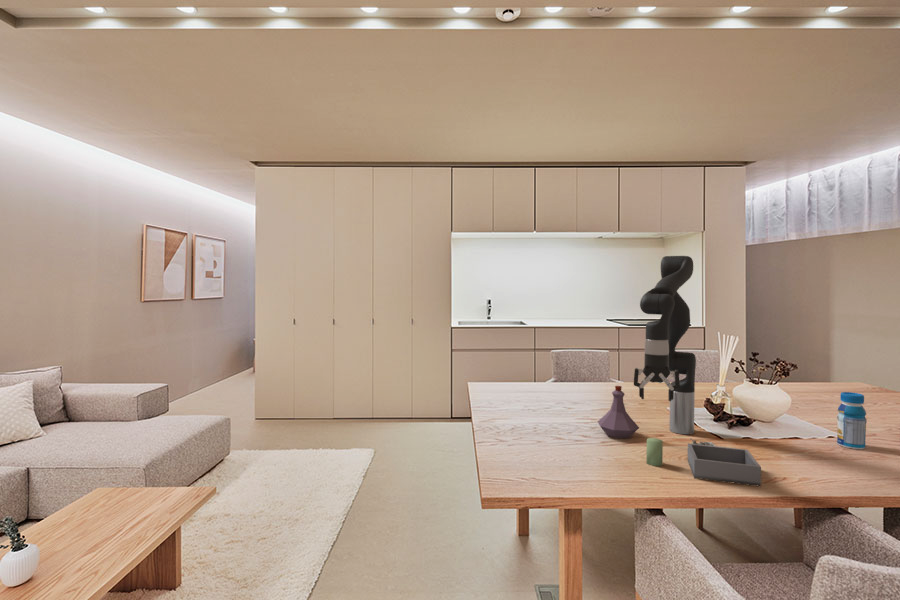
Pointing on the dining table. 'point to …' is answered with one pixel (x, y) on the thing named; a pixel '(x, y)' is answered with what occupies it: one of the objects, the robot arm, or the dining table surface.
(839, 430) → the beverage bottle
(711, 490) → the dining table surface
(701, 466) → the bin
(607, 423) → the flask
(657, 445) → the green capsule
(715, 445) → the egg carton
